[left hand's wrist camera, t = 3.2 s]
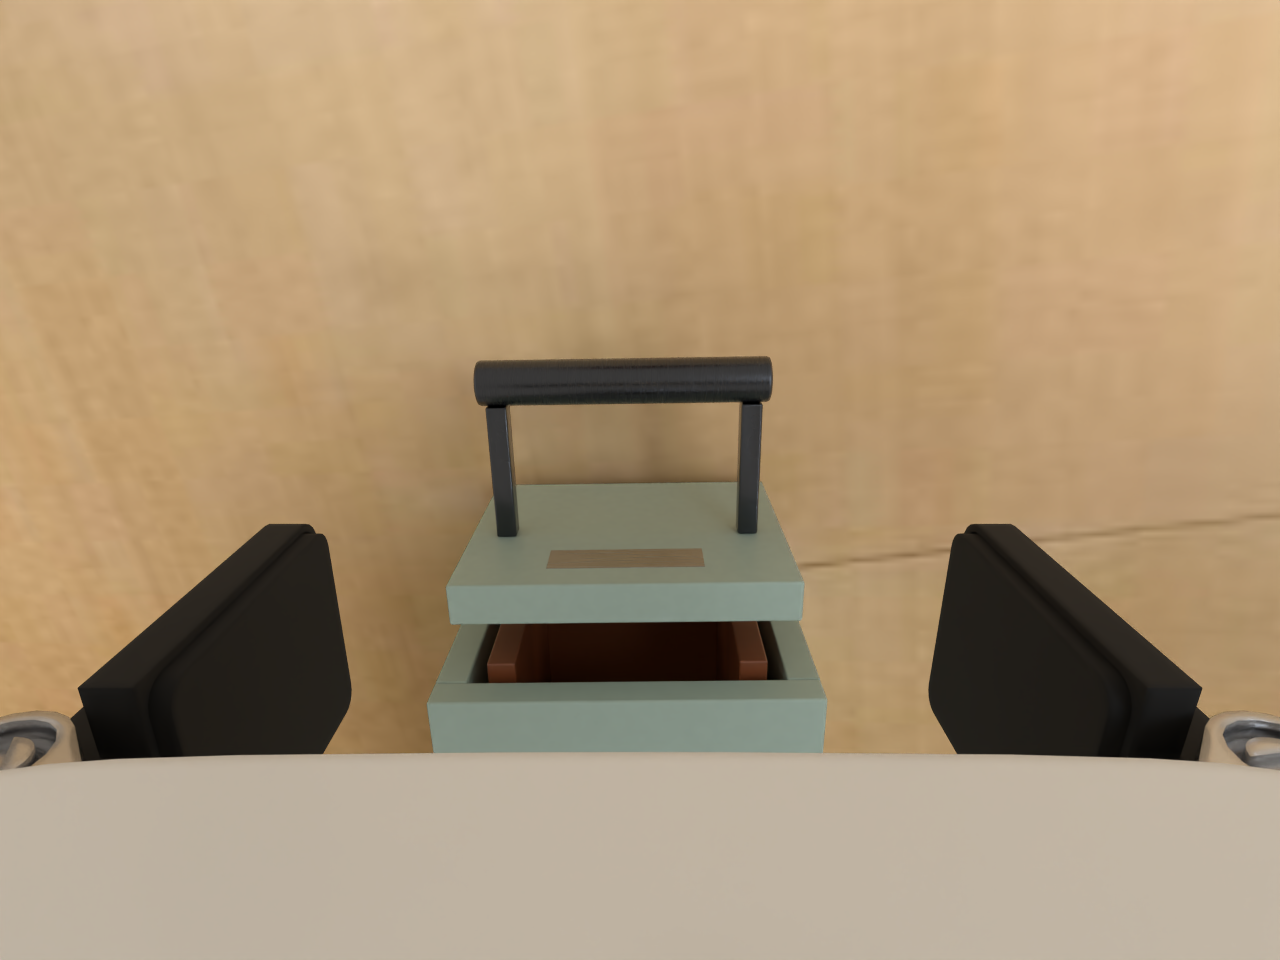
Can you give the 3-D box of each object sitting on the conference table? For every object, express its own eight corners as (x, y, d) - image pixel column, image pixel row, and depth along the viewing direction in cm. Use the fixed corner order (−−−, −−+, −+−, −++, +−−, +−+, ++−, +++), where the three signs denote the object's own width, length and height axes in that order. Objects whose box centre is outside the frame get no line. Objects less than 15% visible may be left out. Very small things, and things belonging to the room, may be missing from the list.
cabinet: (493, 548, 29) (425, 703, 20) (770, 544, 29) (828, 699, 20) (527, 903, 35) (487, 1141, 26) (752, 901, 35) (789, 1139, 26)
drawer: (484, 336, 25) (420, 388, 18) (768, 331, 25) (818, 383, 18) (530, 852, 33) (499, 1032, 26) (745, 850, 33) (774, 1031, 26)
